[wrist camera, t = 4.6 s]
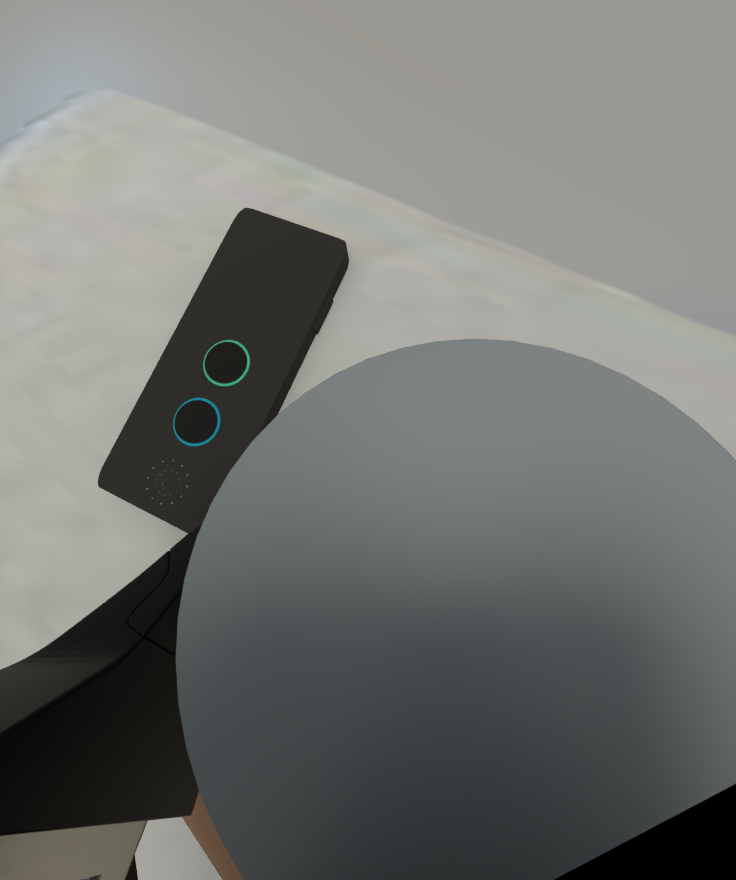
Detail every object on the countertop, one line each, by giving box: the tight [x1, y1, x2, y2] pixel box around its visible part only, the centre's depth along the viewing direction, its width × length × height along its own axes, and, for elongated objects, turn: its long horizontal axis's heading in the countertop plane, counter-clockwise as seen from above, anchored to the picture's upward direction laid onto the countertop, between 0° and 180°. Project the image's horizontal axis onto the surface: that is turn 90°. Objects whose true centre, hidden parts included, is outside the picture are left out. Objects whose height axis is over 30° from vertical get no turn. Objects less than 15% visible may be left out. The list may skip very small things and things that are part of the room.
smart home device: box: [98, 208, 349, 533], centre depth 17 cm, size 8×2×20 cm
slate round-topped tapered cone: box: [176, 339, 736, 880], centre depth 9 cm, size 5×5×14 cm
